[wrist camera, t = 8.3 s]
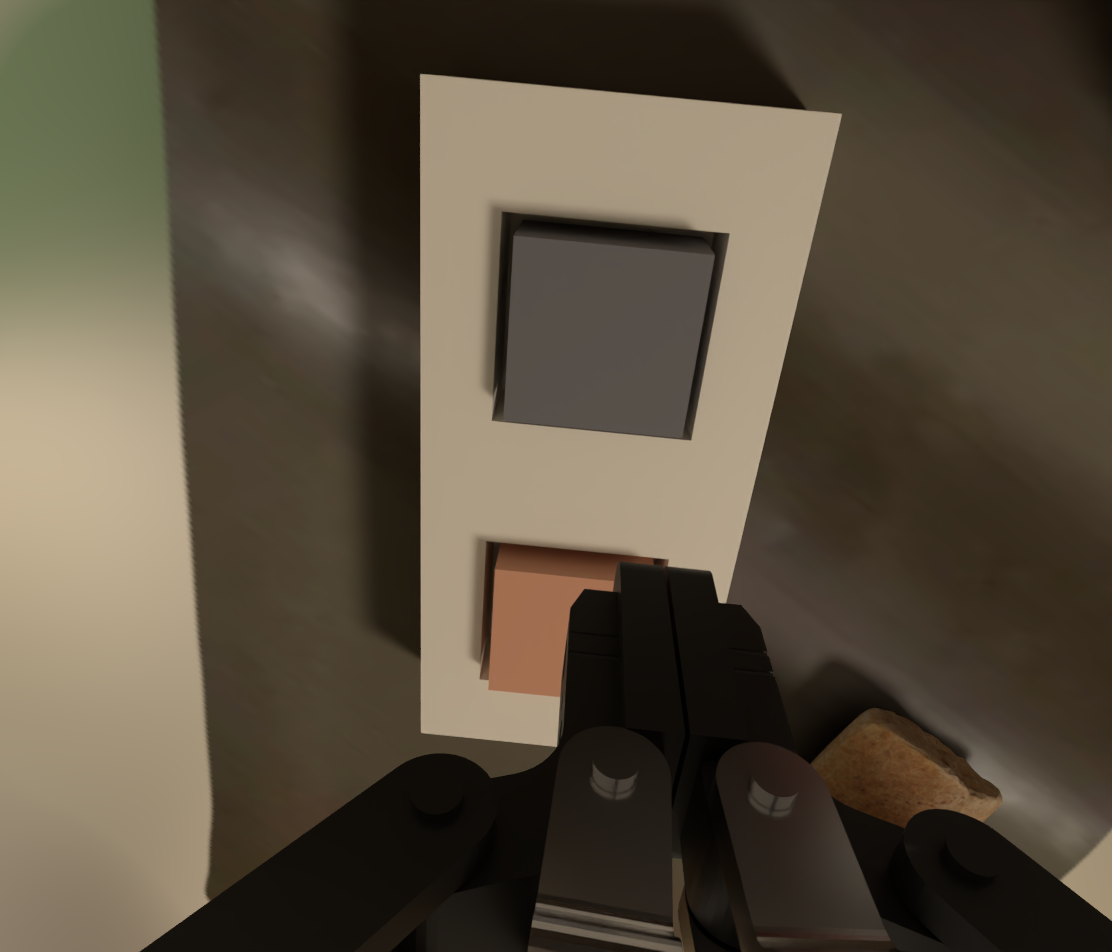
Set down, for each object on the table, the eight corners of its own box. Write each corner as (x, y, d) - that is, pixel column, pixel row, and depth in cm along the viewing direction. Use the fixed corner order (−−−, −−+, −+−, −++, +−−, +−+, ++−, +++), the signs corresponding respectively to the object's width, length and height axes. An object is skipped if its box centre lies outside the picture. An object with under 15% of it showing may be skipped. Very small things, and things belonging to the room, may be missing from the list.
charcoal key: (522, 219, 25) (513, 235, 22) (702, 236, 25) (715, 255, 22) (512, 388, 28) (503, 420, 25) (674, 404, 28) (682, 438, 25)
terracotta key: (504, 526, 30) (494, 569, 28) (651, 541, 30) (655, 585, 28) (497, 641, 33) (488, 689, 30) (631, 654, 33) (634, 704, 30)
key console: (445, 75, 25) (420, 74, 21) (807, 109, 25) (841, 114, 21) (438, 670, 37) (420, 732, 33) (680, 695, 37) (688, 760, 33)
